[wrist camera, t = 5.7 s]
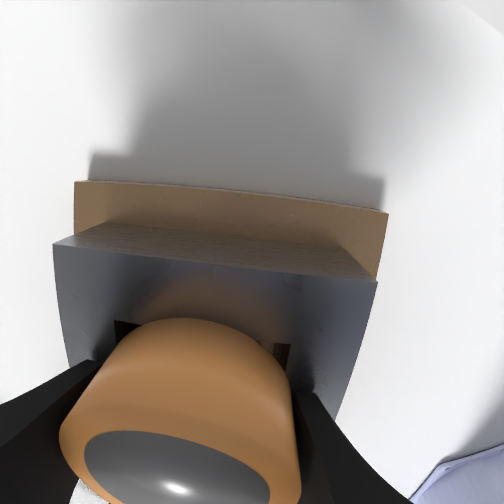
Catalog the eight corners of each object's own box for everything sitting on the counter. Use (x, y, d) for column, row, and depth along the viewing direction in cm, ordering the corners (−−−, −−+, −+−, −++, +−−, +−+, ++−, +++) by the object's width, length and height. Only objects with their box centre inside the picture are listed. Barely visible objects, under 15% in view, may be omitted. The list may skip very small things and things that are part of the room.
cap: (296, 288, 11) (333, 426, 5) (273, 409, 12) (277, 540, 6) (136, 269, 11) (28, 371, 5) (143, 390, 12) (90, 506, 6)
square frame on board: (379, 210, 12) (436, 233, 7) (319, 432, 15) (331, 496, 10) (86, 180, 12) (17, 190, 7) (105, 403, 15) (74, 458, 10)
